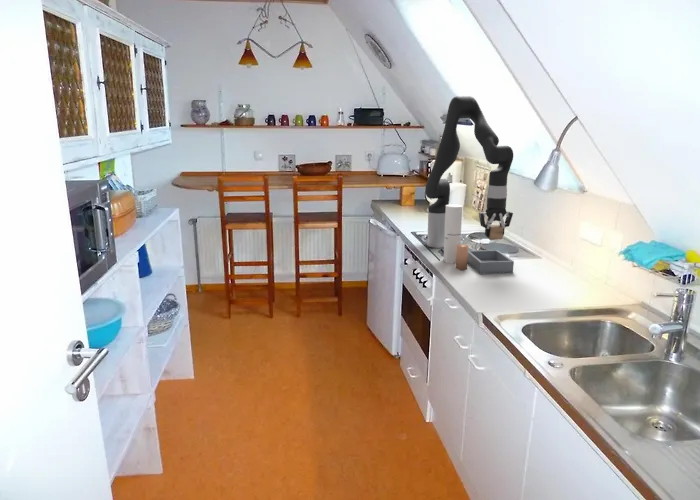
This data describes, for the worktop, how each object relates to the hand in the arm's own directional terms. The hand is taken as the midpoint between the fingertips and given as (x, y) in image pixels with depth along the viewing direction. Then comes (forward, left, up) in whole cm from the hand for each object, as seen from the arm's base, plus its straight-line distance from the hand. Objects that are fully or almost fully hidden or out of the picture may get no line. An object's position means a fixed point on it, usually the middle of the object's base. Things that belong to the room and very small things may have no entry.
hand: (494, 236), depth 205 cm
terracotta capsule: (-4, -12, -14) cm, 19 cm away
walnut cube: (0, 0, 0) cm, 0 cm away
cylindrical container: (-16, -13, -15) cm, 25 cm away
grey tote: (-4, 0, -14) cm, 15 cm away
